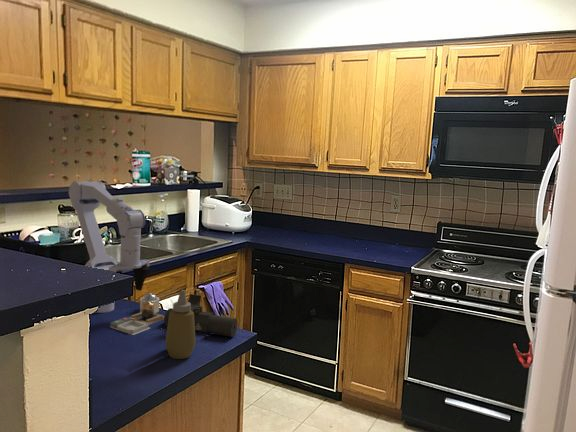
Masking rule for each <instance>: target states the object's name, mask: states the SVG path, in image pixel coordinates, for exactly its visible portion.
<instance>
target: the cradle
mask: <svg viewBox="0 0 576 432" xmlns="http://www.w3.org/2000/svg"><path fill="white" fill-rule="evenodd" d="M109 325H110V326H109V328H111V329H114V330H117V331H120V332H123V333H126V334H128V335H132V336H133V335H134V336H135V335H137V334H140V333H142V332H145V331H148V330H150V329H151V327H149V325H147V324H146V323H143V322H140V321H137V320H132V319H130V317H127V316H125V317H123V318H120V319H117V320H114V321H110V323H109Z"/></svg>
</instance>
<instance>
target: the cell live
mask: <svg viewBox="0 0 576 432" xmlns="http://www.w3.org/2000/svg"><path fill="white" fill-rule="evenodd" d="M153 317H154V302H151V301H146V302H143V303H142V318H141V320H142V321H145V322H146V320H147V319H150V318H153Z"/></svg>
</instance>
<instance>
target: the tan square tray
mask: <svg viewBox="0 0 576 432" xmlns="http://www.w3.org/2000/svg"><path fill="white" fill-rule="evenodd" d="M164 316H165V315H164V314H160V313H157V312H156V313H154V317H153V318H150V319H147V320H146V322H145V321H142V312H140V311H139V312H138V313H135V314H134V313H133V314H132V315H131V316H130V317H129V318H130V319H132V320H137V321H140V322H143V323H146V324H147V325H148V326H150V325H152V324H155V323H157V322H158V323H159V322H160V321H164Z"/></svg>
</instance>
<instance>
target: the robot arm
mask: <svg viewBox="0 0 576 432" xmlns="http://www.w3.org/2000/svg"><path fill="white" fill-rule="evenodd" d="M68 196H69V199H70V203H71V206H72V209H74V210H75V213H76V216H77V219H78V222H79V226H80V229H81V233H82V235H83V239H84V243H85V246H86V248H87V250H86V251H87V253H88V257H89V260H88V261H87V262H86V263H85V265H84V266H88V267H92V268H97V269H104V270H110V271H114V272H116V273H120V274H124V272H126V271H131V270H132V271H133V275H134V288H135V290H136V291H142V289H143V287H144V286H143V285H144V283H145V280H146V277H148V274H149V273H150V260H149V259H146V258H145V259H141V241H142V240H141V235H142V234H141V232H142V229H143V228H144V227H145V225H146V216H145V213H144V212H143V211H142V209H133V207H132V206H130V205H129V204H127V203H126V202H125V201H124V199H123V198H121V197H120V198H117V197H116V198H114V196H112V194H111V193H109V191H108V190H107V189H106V184H104V183H103V182H102V181H100V180H97V181H96V180H94V181H93V180H91V181H86V180H85V181H77V180H74V181H73V180H72V182H71V183H70V185H69V188H68ZM101 204H102V205H103V206H105V208H106V210H105V211H106V212H107V214H109V215H110V216H111V217H112V218H113V219H115V220H116V223H117V226H118V227H117V228H118V233H119V235H120V252H119V253H120V258H119V263H117V261H116V259H115V258H114V257H112V256H110V255H108V254H107V251H106V248H105V245H104V241H103V238H102V235H101V231H100V228H99V224H98V221H97V219H96V218H97V217H96V215H95V210H96V209H97V208H99V206H100V205H101ZM124 275H126V274H124ZM114 310H115V302H114V303H111V304H108V305H104V306H101V307H100V308H98V311H97V312H96V313H101V314H102V313H110V312H112V311H114Z"/></svg>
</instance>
